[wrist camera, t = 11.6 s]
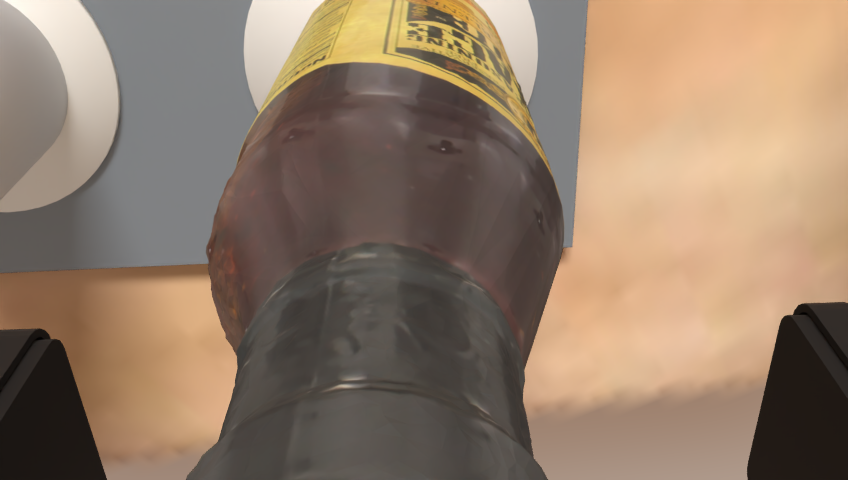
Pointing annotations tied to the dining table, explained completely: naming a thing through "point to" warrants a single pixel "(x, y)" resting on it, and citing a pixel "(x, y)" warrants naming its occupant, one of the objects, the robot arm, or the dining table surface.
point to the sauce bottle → (385, 255)
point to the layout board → (192, 116)
